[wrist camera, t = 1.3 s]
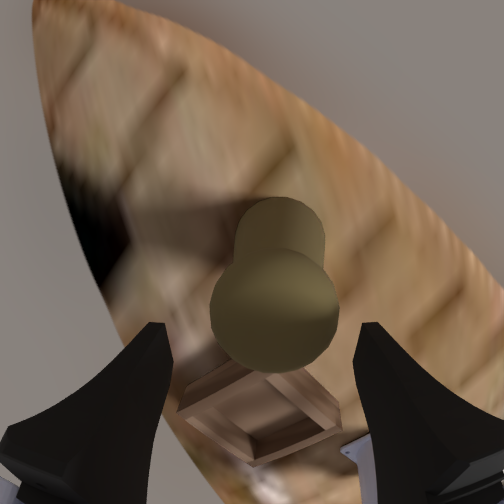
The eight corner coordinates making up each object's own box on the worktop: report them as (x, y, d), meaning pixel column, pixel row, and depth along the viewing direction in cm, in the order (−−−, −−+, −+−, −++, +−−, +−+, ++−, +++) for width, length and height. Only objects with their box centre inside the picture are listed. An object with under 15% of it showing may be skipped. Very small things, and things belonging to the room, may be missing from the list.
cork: (279, 299, 23) (271, 415, 13) (216, 241, 22) (158, 329, 12) (343, 242, 21) (388, 335, 11) (279, 177, 20) (272, 218, 10)
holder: (338, 401, 26) (342, 430, 23) (256, 440, 29) (253, 467, 25) (270, 334, 24) (267, 363, 21) (186, 385, 27) (176, 412, 24)
